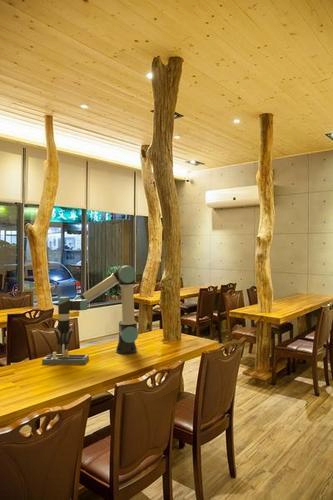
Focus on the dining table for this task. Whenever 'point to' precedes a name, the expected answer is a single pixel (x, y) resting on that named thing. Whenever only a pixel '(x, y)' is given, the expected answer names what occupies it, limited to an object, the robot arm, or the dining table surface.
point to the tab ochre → (66, 353)
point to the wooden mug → (58, 347)
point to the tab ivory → (54, 355)
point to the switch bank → (66, 359)
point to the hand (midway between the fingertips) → (63, 354)
